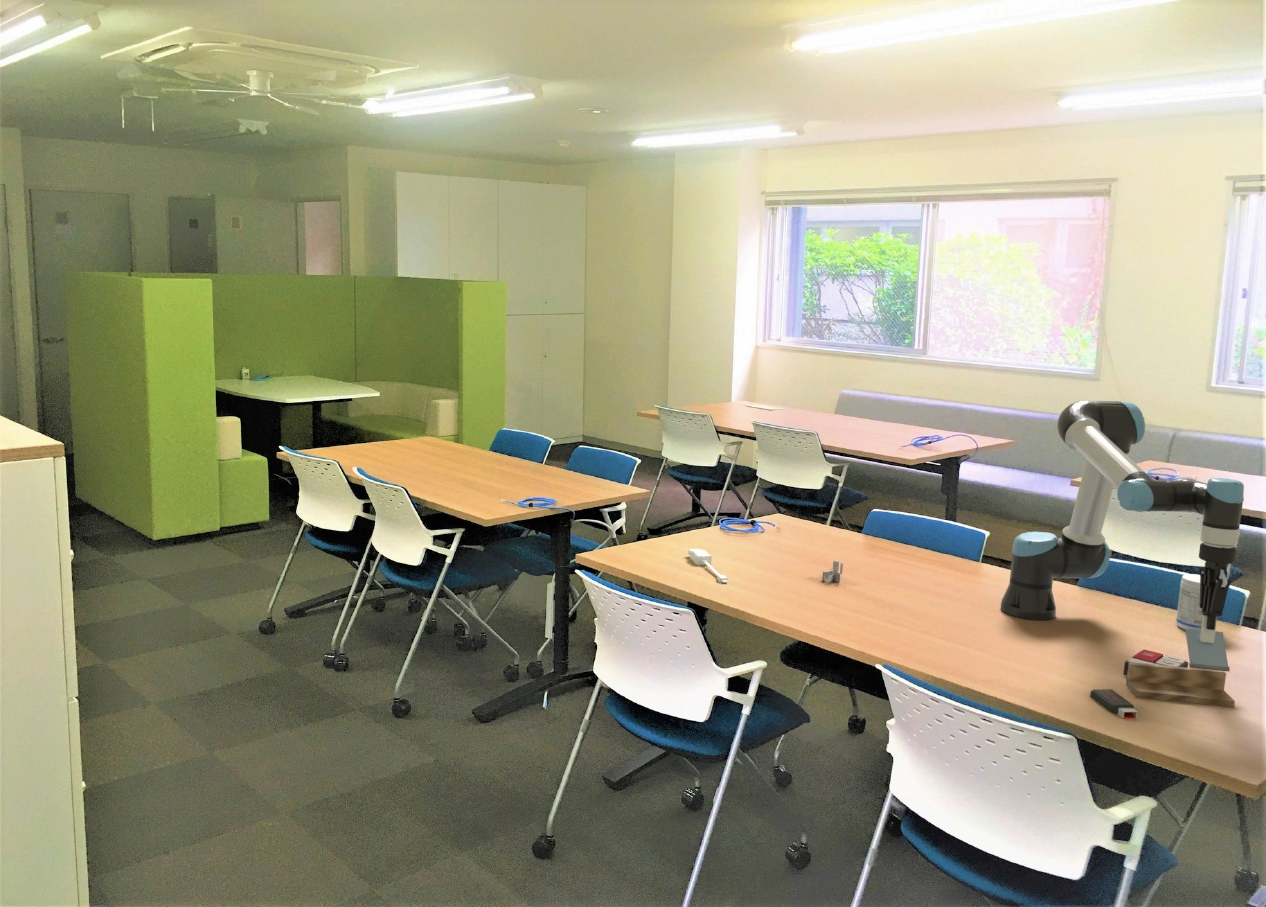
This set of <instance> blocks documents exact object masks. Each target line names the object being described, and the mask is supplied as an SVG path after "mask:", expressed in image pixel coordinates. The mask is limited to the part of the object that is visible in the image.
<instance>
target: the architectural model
mask: <svg viewBox="0 0 1266 907" xmlns="http://www.w3.org/2000/svg"><path fill="white" fill-rule="evenodd" d="M843 566H844V562H841V563H840V561H839V560H838V561H836V560H833V563H832V568H829V571H822V578H821V579H822V581H824V582H826V583H831V582H832V581H834V582H837V583H840V582H841V575H842V574H843V568H844V567H843ZM839 569H840V570H839Z"/></svg>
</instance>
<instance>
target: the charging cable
mask: <svg viewBox="0 0 1266 907" xmlns="http://www.w3.org/2000/svg"><path fill="white" fill-rule="evenodd" d="M687 554H688V555H689V557H690V560H691V561H692V562H693V563H694V564H695V565H696V566H706V567H707V568H709V570H711V572H712V573H714V575H715V576H716V578H717V579H716V581H718V582H719V583H723V584H725V583H726V584H727V583H729V578H728V577H727V576H726V575H725V574H724V575H723V574H720V573H719V572H718V571H717V570H716V569H715V568H714V567H713V566H712V559H713V558H712V556H711V555H710V554H709V553H708V552H707V550H705V549H701V548H689V549H688V553H687Z"/></svg>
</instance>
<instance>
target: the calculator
mask: <svg viewBox="0 0 1266 907" xmlns="http://www.w3.org/2000/svg"><path fill="white" fill-rule="evenodd" d="M1129 662H1133V663H1144V664H1154V665H1164V666H1175V667H1185V668H1189V667H1188V666H1189V662H1188V661H1187V659H1185V658H1181V657H1176V656H1173V655H1168V654H1165V655H1164V653H1160V652H1156V651H1153V650H1149V649H1142V650H1140V651H1139V652H1137V653H1136V654H1134V655H1132V656H1131V657H1130V658H1128V659H1127V660H1126V661H1125V662H1124V667H1123V673H1122V674H1123V675H1122V676H1125V677H1127V673H1128V665H1129Z"/></svg>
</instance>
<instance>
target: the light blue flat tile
mask: <svg viewBox="0 0 1266 907" xmlns="http://www.w3.org/2000/svg"><path fill="white" fill-rule="evenodd" d="M1200 634H1201V630H1194V629H1186V630H1185V636H1186V644H1187V651H1188V658H1189V659H1188V660H1189V662H1188V666H1189V667H1188V668H1195V669H1206V670H1216V671H1224V672H1230V670H1231V668H1230V666H1229V663H1228V657H1227V656H1228V655H1227V648H1226V644H1225V638H1224V632H1223V631H1216V630H1215V638H1214V643H1210V642H1201V641H1200Z"/></svg>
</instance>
